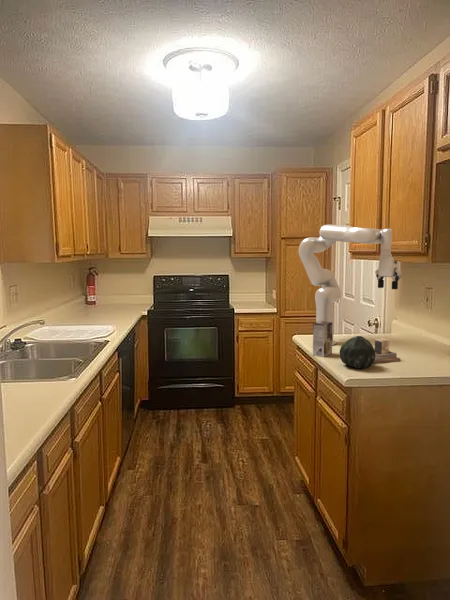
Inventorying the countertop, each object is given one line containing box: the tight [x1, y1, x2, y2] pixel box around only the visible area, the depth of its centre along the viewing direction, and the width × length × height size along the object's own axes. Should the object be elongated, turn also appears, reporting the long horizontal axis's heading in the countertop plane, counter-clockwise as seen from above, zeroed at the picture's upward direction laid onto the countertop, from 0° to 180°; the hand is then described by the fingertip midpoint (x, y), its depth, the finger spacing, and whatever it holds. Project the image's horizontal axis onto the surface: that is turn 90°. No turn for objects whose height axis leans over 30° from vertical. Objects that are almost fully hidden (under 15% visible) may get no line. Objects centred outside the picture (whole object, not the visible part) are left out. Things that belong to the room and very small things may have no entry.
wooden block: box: [374, 337, 390, 355], centre depth 202 cm, size 4×5×8 cm
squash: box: [338, 335, 375, 370], centre depth 188 cm, size 14×15×15 cm
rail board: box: [372, 347, 401, 365], centre depth 201 cm, size 13×16×6 cm
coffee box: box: [312, 321, 333, 358], centre depth 211 cm, size 9×6×16 cm
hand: (387, 288), depth 212 cm, fingers open, 9 cm apart
